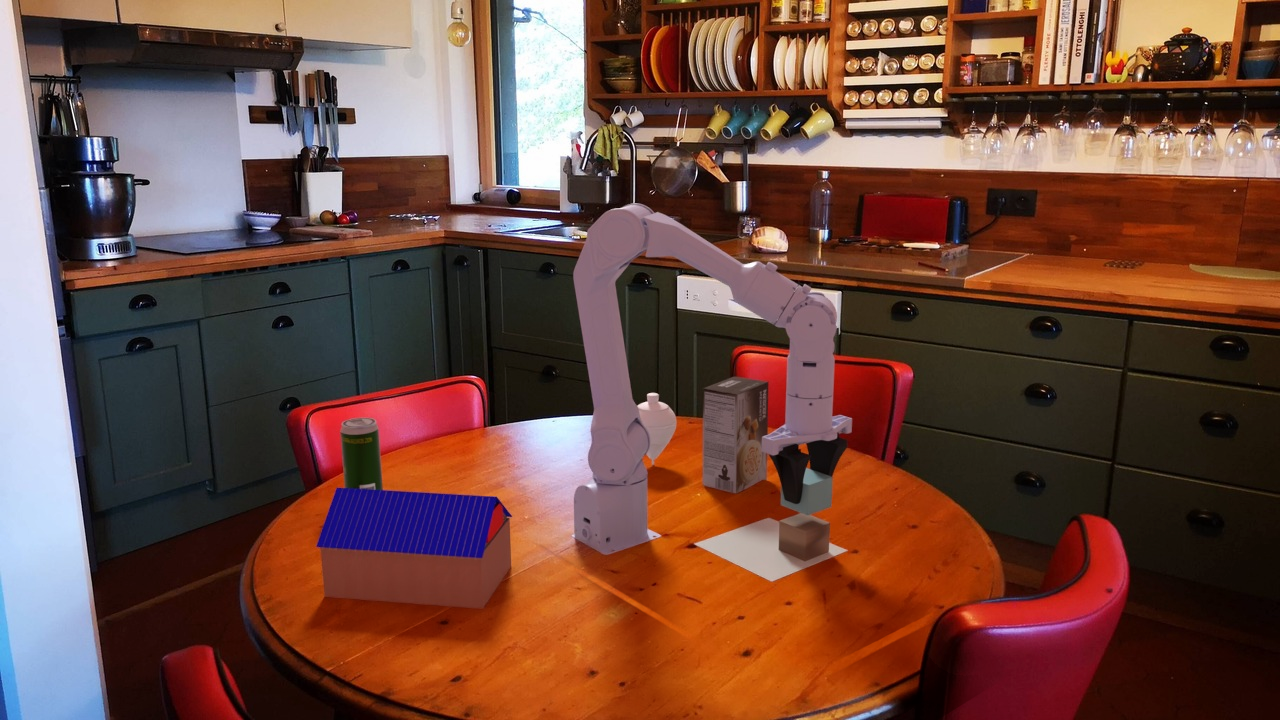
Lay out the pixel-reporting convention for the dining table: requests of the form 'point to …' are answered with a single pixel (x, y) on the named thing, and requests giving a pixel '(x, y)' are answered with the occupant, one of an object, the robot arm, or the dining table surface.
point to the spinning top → (657, 424)
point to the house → (415, 547)
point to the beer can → (361, 454)
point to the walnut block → (804, 536)
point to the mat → (761, 550)
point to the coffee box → (734, 433)
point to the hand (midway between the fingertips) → (805, 496)
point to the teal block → (812, 493)
